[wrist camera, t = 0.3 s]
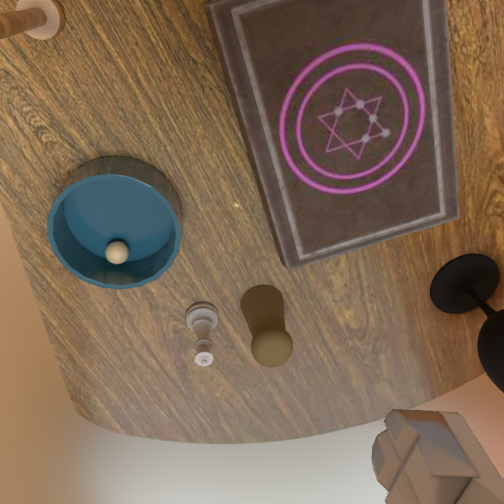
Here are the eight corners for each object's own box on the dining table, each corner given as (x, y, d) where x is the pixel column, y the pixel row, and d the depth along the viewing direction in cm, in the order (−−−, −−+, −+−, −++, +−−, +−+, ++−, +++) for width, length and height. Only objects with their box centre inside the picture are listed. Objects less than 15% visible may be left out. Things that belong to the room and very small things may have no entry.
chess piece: (194, 331, 68) (195, 382, 59) (180, 309, 66) (179, 359, 57) (222, 319, 67) (228, 369, 59) (209, 297, 65) (212, 345, 57)
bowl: (61, 146, 53) (47, 164, 48) (188, 166, 56) (189, 185, 50) (59, 255, 59) (47, 282, 54) (173, 268, 62) (172, 294, 57)
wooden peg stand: (21, -13, 45) (-59, -9, 30) (65, -3, 46) (8, 5, 31) (21, 33, 47) (-54, 57, 32) (64, 41, 48) (10, 69, 33)
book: (441, 201, 62) (460, 218, 58) (277, 252, 63) (284, 272, 59) (418, -70, 47) (442, -75, 42) (202, 3, 47) (203, 5, 43)
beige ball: (107, 235, 58) (104, 246, 56) (131, 238, 59) (128, 249, 56) (106, 255, 59) (102, 266, 57) (129, 258, 60) (126, 269, 58)
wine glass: (424, 269, 67) (506, 368, 50) (495, 242, 66) (603, 335, 49) (435, 321, 72) (513, 428, 55) (501, 298, 72) (601, 399, 54)
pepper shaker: (236, 289, 65) (245, 342, 56) (280, 280, 65) (295, 332, 56) (244, 323, 68) (253, 379, 59) (285, 315, 68) (301, 369, 59)
